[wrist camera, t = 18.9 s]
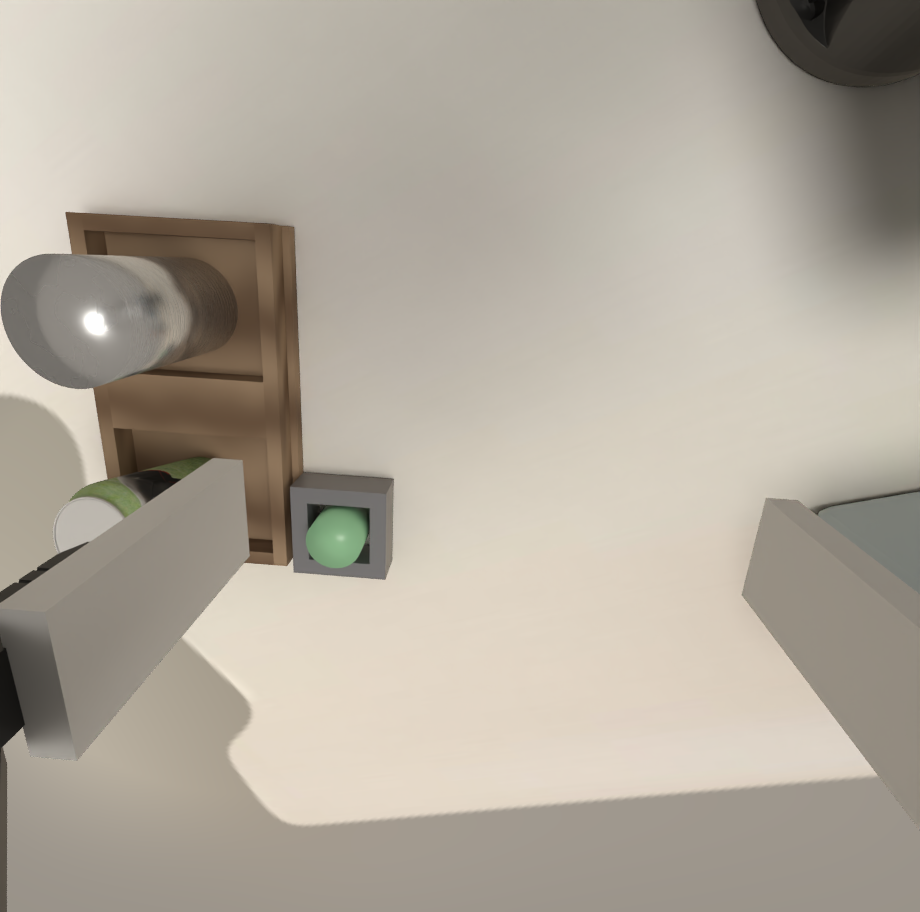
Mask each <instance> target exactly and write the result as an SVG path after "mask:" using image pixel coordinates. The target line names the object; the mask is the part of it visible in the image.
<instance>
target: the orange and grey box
mask: <svg viewBox="0 0 920 912" xmlns="http://www.w3.org/2000/svg"><path fill="white" fill-rule="evenodd" d="M817 516H819V517H820V518H821V519H823V520H824V521H825V522H827V523H828V524H829V525H830V526H832V527H833V528H834V529H836V530H837V531H838V532H840V533H841V534H842V535H843V536H845V537H846V538H847V539H849V540H850V541H851V542H853V543H854V544H855V545H856V546H858V547H859V548H860V549H862V550H863V551H864V552H866V553H867V554H868V555H869V556H871V557H872V558H873V559H875V560H876V561H877V562H879V563H880V564H881V565H882V566H884V567H885V568H886V569H888V570H889V571H890V572H892V573H893V574H894V575H895V576H897V577H898V578H899V579H901V580H902V581H903V582H905V583H906V584H907V585H908V586H910V587H911V588H912V589H914V590H915V591H916V592H918V593H919V594H920V491H919V492H913V493H907V494H902V495H896V496H890V497H884V498H879V499H873V500H867V501H861V502H855V503H849V504H843V505H837V506H832V507H828V508H826V509H824V510H821V511H819V513H818V515H817Z"/></svg>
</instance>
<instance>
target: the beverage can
mask: <svg viewBox="0 0 920 912" xmlns="http://www.w3.org/2000/svg"><path fill="white" fill-rule="evenodd" d="M209 460H211V459H210V458H206V457H193V458H189V459H185V460H181V461H177V462H173V463H169V464H166V465H162V466H158V467H154V468H150V469H146V470H143V471H139V472H135V473H131V474H127V475H123V476H120V477H116V478H112V479H108V480H104V481H100V482H97V483H93V484H90V485H88V486H86V487H84V488H82V489H81V490H80V491H78V492H77V493H76V494H75V495H74V496H73V497H72V498H71V499H70V501H69V502H68V503H67V504H65V505H64V506H63V507H62V508H61V510H60V511H59V512H58V514H57V516H56V518H55V521H54V526H53V540H54V544H55V548H56V550H57V553H58V554H59V553H61V552H63V551H66V550H68V549H71V548H73V547H76V546H78V545H81V544H83V543H86V542H91V541H92V540H93V539H95V538H96V537H98V536H99V535H101V534H102V533H104V532H105V531H107V530H108V529H110V528H111V527H113V526H114V525H115V524H117V523H118V522H120V521H121V520H123V519H124V518H126V517H127V516H129V515H130V514H132V513H133V512H135V511H136V510H137V509H139V508H140V507H142V506H143V505H145V504H146V503H148V502H149V501H151V500H152V499H154V498H155V497H157V496H158V495H159V494H161V493H162V492H164V491H165V490H167V489H168V488H170V487H171V486H173V485H174V484H176V483H177V482H179V481H180V480H182V479H183V478H184V477H186V476H187V475H189V474H190V473H192V472H193V471H195V470H196V469H198V468H199V467H201V466H202V465H204V464H205V463H206V462H208V461H209Z"/></svg>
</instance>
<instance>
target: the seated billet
mask: <svg viewBox="0 0 920 912" xmlns="http://www.w3.org/2000/svg"><path fill="white" fill-rule="evenodd" d="M1 315H2V321H3V325H4V329H5V331H6V334H7V336H8V338H9V340H10V342H11V344H12V346H13V348H14V349H15V351H16V352H17V354H18V355H19V356H20V357H21V359H22V360H23V361H24V362H25V363H26V364H27V365H28V366H29V367H30V368H31V369H32V370H34V371H35V372H36V373H37V374H39V375H40V376H42V377H43V378H45V379H47V380H49V381H51V382H53V383H55V384H58V385H60V386H64V387H68V388H75V389H87V388H94V387H97V386H100V385H104V384H107V383H110V382H114V381H117V380H120V379H123V378H127V377H130V376H133V375H137V374H140V373H143V372H146V371H150V370H153V369H156V368H160V367H163V366H166V365H169V364H173V363H176V362H179V361H183V360H186V359H189V358H192V357H196V356H199V355H202V354H206V353H209V352H212V351H215V350H217V349H219V348H220V347H222V346H223V345H224V344H225V343H227V342H228V340H229V339H230V338H231V336H232V335H233V333H234V330H235V328H236V324H237V319H238V307H237V301H236V298H235V295H234V292H233V290H232V288H231V286H230V284H229V283H228V281H227V280H226V279H225V277H224V276H223V275H222V274H221V273H220V272H219V271H218V270H217V269H215V268H214V267H212V266H211V265H209V264H208V263H206V262H203V261H201V260H198V259H194V258H187V257H151V256H115V255H79V254H42V255H37V256H34V257H31V258H28V259H27V260H25V261H23V262H21V263H20V264H19V265H18V266H16V267H15V269H14V270H13V271H12V272H11V273H10V275H9V276H8V278H7V280H6V282H5V284H4V287H3V291H2V296H1Z"/></svg>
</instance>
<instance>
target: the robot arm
mask: <svg viewBox="0 0 920 912" xmlns="http://www.w3.org/2000/svg"><path fill="white" fill-rule="evenodd" d="M757 2H758V6H759V9H760V12H761V15H762V17H763V19H764V22H765V24H766V26H767V28H768V30H769V32H770V34H771V35H772V37H773V39H774V40H775V42H776V43H777V44H778V46H779V47H780V48H781V50H782V51H783V52H784V53H785V54H786V55H787V56H788V57H789V58H790V59H791V60H792V61H793V62H794V63H795V64H797V65H798V66H799V67H801V68H802V69H803V70H805V71H807V72H808V73H810V74H812V75H814V76H816V77H818V78H820V79H823V80H825V81H828V82H831V83H835V84H839V85H845V86H854V87H870V86H879V85H886V84H890V83H894V82H898V81H901V80H904V79H908V78H910V77H913V76H915V75H918V74H920V0H757ZM249 556H250V554H249V540H248V527H247V513H246V500H245V486H244V473H243V460H234V459H220V458H212V459H211V460H209V461H208V462H206V463H205V464H204V465H202V466H201V467H199V468H198V469H196V470H195V471H193V472H192V473H190V474H189V475H187V476H186V477H184V478H183V479H182V480H180V481H179V482H177V483H176V484H174V485H173V486H171V487H170V488H168V489H167V490H165V491H164V492H162V493H161V494H159V495H158V496H157V497H155V498H154V499H152V500H151V501H149V502H148V503H146V504H145V505H143V506H142V507H140V508H139V509H137V510H136V511H135V512H133V513H132V514H130V515H129V516H127V517H126V518H124V519H123V520H121V521H120V522H118V523H117V524H115V525H114V526H113V527H111V528H110V529H108V530H107V531H105V532H104V533H102V534H101V535H99V536H98V537H96V538H95V539H93V540H92V541H91V542H86V543H83V544H81V545H78V546H76V547H73V548H71V549H68V550H66V551H63V552H61V553H59V554H57V555H56V556H54V557H53V558H51V559H50V560H48V561H47V562H45V563H44V564H42V565H40V566H39V567H38V568H37V571H34V570H33V571H32V572H30V573H28V574H27V575H25V576H24V577H22V578H21V579H20V580H19V583H13V584H12V585H10V586H9V587H7V588H6V589H4V590H3V591H1V592H0V912H7V762H6V759H5V755H4V751H3V748H2V747H3V746H4V745H5V744H6V743H7V742H8V741H9V740H10V739H11V738H12V737H13V736H14V735H15V734H16V733H17V732H18V731H19V730H20V729H21V728H22V727H23V729H24V733H25V737H26V741H27V745H28V749H29V753H30V756H33V757H42V758H53V759H64V760H74V761H77V760H78V759H79V757H80V756H81V755H82V754H83V753H84V752H85V751H86V749H87V748H88V747H89V746H90V745H91V744H92V742H93V741H94V740H95V739H96V738H97V736H98V735H99V734H100V733H101V732H102V731H103V729H104V728H105V727H106V726H107V725H108V723H109V722H110V721H111V720H112V719H113V717H114V716H115V715H116V714H117V712H119V710H120V709H121V708H122V707H123V706H124V704H125V703H126V702H127V701H128V700H129V699H130V697H131V696H132V695H133V694H134V692H135V691H136V690H137V689H138V688H139V687H140V685H141V684H142V683H143V682H144V681H145V680H146V678H147V677H148V676H149V675H150V674H151V672H152V671H153V670H154V669H155V668H156V667H157V665H158V664H159V663H160V662H161V661H162V659H163V658H164V657H165V656H166V655H167V654H168V652H169V651H170V650H171V649H172V648H173V646H174V645H175V644H176V643H177V642H178V640H179V639H180V638H181V637H182V636H183V635H184V633H185V632H186V631H187V630H188V629H189V627H190V626H191V625H192V624H193V623H194V621H195V620H196V619H197V618H198V617H199V616H200V614H201V613H202V612H203V611H204V610H205V608H206V607H207V606H208V605H209V604H210V603H211V601H212V600H213V599H214V598H215V597H216V595H217V594H218V593H219V592H220V591H221V589H222V588H223V587H224V586H225V585H226V584H227V582H228V581H229V580H230V579H231V578H232V576H233V575H234V574H235V573H236V572H237V571H238V569H239V568H240V567H241V566H242V565H243V563H244V562H245V561H246V560H247V559H248V557H249ZM742 596H743V597H744V599H745V600H746V601H747V603H748V604H749V605H750V607H751V608H752V609H753V611H754V612H755V613H756V614H757V616H758V617H759V618H760V620H761V621H762V622H763V624H764V625H765V626H766V628H767V629H768V630H769V632H770V633H771V634H772V636H773V637H774V638H775V640H776V641H777V642H778V644H779V645H780V646H781V648H782V649H783V650H784V652H785V653H786V654H787V656H788V657H789V658H790V659H791V661H792V662H793V663H794V665H795V666H796V667H797V669H798V670H799V671H800V673H801V674H802V675H803V677H804V678H805V679H806V681H807V682H808V683H809V685H810V686H811V687H812V689H813V690H814V691H815V693H816V694H817V695H818V697H819V698H820V699H821V701H822V702H823V703H824V704H825V706H826V707H827V708H828V710H829V711H830V712H831V714H832V715H833V716H834V718H835V719H836V720H837V722H838V723H839V724H840V726H841V727H842V728H843V730H844V731H845V732H846V734H847V735H848V736H849V738H850V739H851V740H852V742H853V743H854V744H855V746H856V747H857V748H858V749H859V751H860V752H861V753H862V755H863V756H864V757H865V759H866V760H867V761H868V763H869V764H870V765H871V767H872V768H873V769H874V771H875V772H876V773H877V775H878V776H879V777H880V779H881V780H882V781H883V783H884V784H885V785H886V787H887V788H888V789H889V790H890V792H891V793H892V794H893V796H894V797H895V798H896V800H897V801H898V802H899V804H900V805H901V806H902V808H903V809H904V810H905V811H906V813H907V814H908V815H909V817H910V818H911V819H912V821H913V822H914V824H915V825H916V826H917V828H918V829H919V830H920V594H919V593H918V592H916V591H915V590H914V589H912V588H911V587H910V586H908V585H907V584H906V583H905V582H903V581H902V580H901V579H899V578H898V577H897V576H895V575H894V574H893V573H892V572H890V571H889V570H888V569H886V568H885V567H884V566H882V565H881V564H880V563H879V562H877V561H876V560H875V559H873V558H872V557H871V556H869V555H868V554H867V553H866V552H864V551H863V550H862V549H860V548H859V547H858V546H856V545H855V544H854V543H853V542H851V541H850V540H849V539H847V538H846V537H845V536H843V535H842V534H841V533H840V532H838V531H837V530H836V529H834V528H833V527H832V526H830V525H829V524H828V523H827V522H825V521H824V520H823V519H821V518H820V517H819V516H817V515H816V514H815V513H813V512H812V511H811V510H810V509H808V508H807V507H806V506H804V505H803V504H802V503H800V502H799V501H798V500H785V499H772V498H766V500H765V504H764V508H763V512H762V516H761V520H760V524H759V528H758V532H757V536H756V540H755V544H754V548H753V552H752V556H751V560H750V564H749V568H748V572H747V576H746V580H745V584H744V588H743V592H742Z"/></svg>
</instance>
